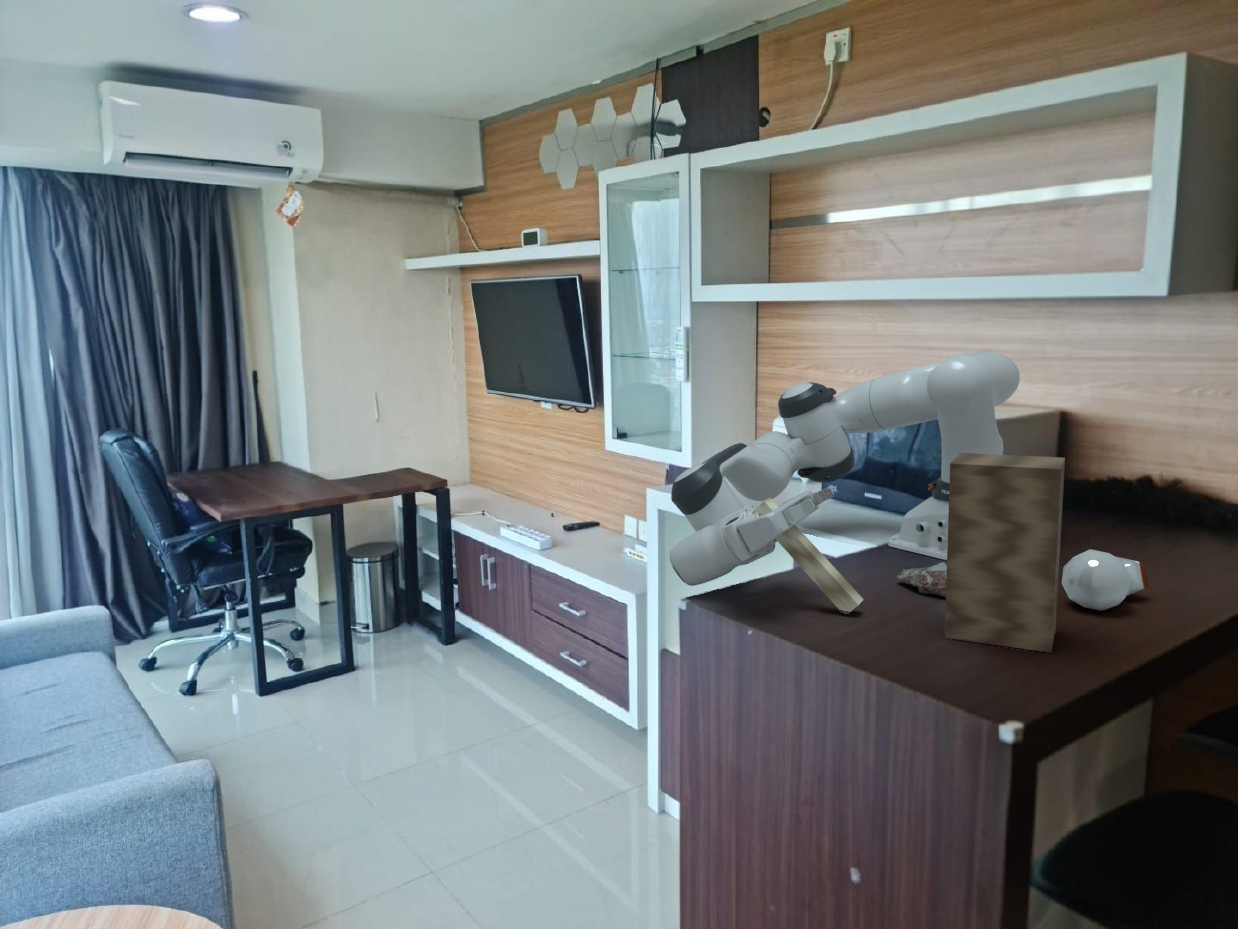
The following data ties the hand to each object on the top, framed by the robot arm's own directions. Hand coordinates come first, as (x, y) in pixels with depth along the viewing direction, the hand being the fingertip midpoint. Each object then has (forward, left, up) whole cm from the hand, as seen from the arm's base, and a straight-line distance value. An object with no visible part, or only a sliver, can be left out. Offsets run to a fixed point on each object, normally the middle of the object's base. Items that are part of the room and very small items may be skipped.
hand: (823, 497), depth 137 cm
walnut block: (+26, +7, -19) cm, 33 cm away
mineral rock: (+10, +20, -19) cm, 30 cm away
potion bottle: (+33, +30, -19) cm, 49 cm away
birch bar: (-3, -1, -11) cm, 11 cm away
